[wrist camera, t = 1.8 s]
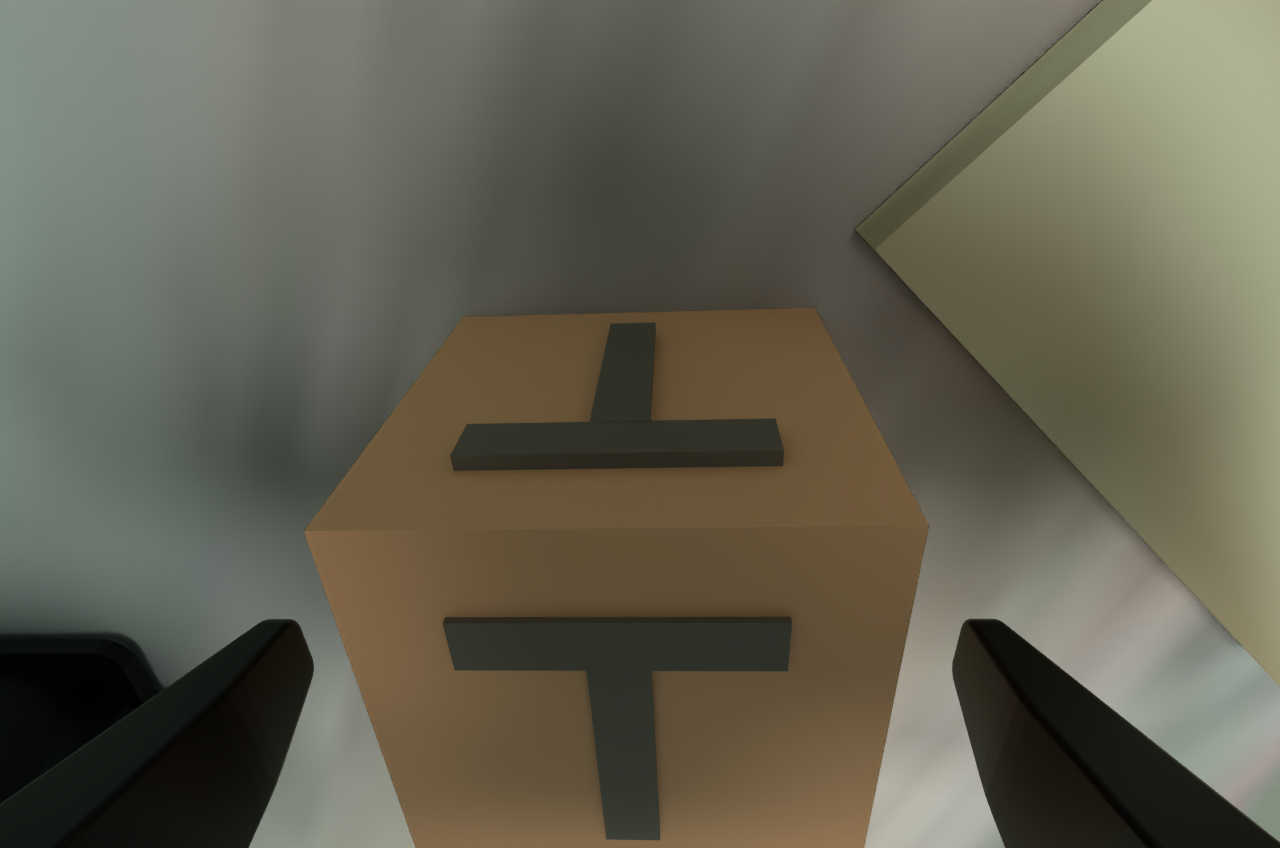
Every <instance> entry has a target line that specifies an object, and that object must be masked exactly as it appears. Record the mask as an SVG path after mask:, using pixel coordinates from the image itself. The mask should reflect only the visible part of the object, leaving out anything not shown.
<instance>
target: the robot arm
mask: <svg viewBox="0 0 1280 848" xmlns="http://www.w3.org/2000/svg"><path fill="white" fill-rule="evenodd" d="M313 672H314V664H313V659H312V656H311V653H310V651H309V648H308V645H307V643H306V640H305V638H304V635H303V633H302V630H301V627H300V625H299V624H298V623H297V622H296V621H295V620H292V619H268V620H264V621H262V622H260V623H259V624H257V625H256V626H254V627H253V628H251V629H250V630H248V631H247V632H246V633H244V634H243V635H241V636H240V637H238V638H237V639H236V640H234V641H233V642H231V643H230V644H228V645H227V646H226V647H224V648H223V649H221V650H220V651H218V652H217V653H216V654H214V655H213V656H211V657H210V658H208V659H207V660H206V661H204V662H203V663H201V664H200V665H198V666H197V667H196V668H194V669H193V670H191V671H190V672H188V673H187V674H186V675H184V676H183V677H181V678H180V679H178V680H177V681H176V682H174V683H173V684H171V685H170V686H168V687H167V688H166V689H164V690H163V691H161V692H160V693H158V694H156V692H155V691H154V689H153V687H152V685H151V684H150V682H149V680H148V678H147V676H146V675H145V673H144V671H143V669H142V668H141V666H140V664H139V662H138V661H137V659H136V657H135V655H134V654H133V653H132V652H131V651H130V649H128V648H127V647H125V646H124V645H122V644H120V643H117V642H114V641H108V640H0V848H249V846H250V843H251V841H252V839H253V837H254V834H255V832H256V830H257V828H258V826H259V823H260V821H261V819H262V817H263V814H264V812H265V810H266V808H267V805H268V803H269V801H270V798H271V796H272V794H273V791H274V789H275V787H276V784H277V781H278V778H279V776H280V773H281V770H282V768H283V765H284V762H285V759H286V756H287V753H288V750H289V747H290V744H291V741H292V738H293V735H294V732H295V729H296V726H297V723H298V720H299V717H300V714H301V711H302V708H303V705H304V702H305V699H306V696H307V693H308V690H309V687H310V684H311V681H312V677H313ZM952 674H953V680H954V684H955V688H956V691H957V695H958V699H959V702H960V706H961V710H962V713H963V717H964V721H965V724H966V728H967V732H968V735H969V739H970V743H971V746H972V750H973V754H974V757H975V761H976V765H977V768H978V772H979V776H980V779H981V782H982V786H983V789H984V792H985V796H986V799H987V801H988V804H989V807H990V810H991V812H992V815H993V818H994V820H995V823H996V825H997V828H998V831H999V833H1000V836H1001V838H1002V841H1003V843H1004V846H1005V848H1280V842H1279V841H1278V840H1276V839H1275V838H1274V837H1273V836H1271V835H1270V834H1269V833H1268V832H1266V831H1265V830H1264V829H1263V828H1261V827H1260V826H1259V825H1257V824H1256V823H1255V822H1254V821H1253V820H1251V819H1250V818H1249V817H1248V816H1246V815H1245V814H1244V813H1242V812H1241V811H1240V810H1239V809H1237V808H1236V807H1235V806H1234V805H1232V804H1231V803H1230V802H1229V801H1227V800H1226V799H1225V798H1224V797H1222V796H1221V795H1220V794H1219V793H1217V792H1216V791H1215V790H1214V789H1212V788H1211V787H1210V786H1208V785H1207V784H1206V783H1205V782H1203V781H1202V780H1201V779H1200V778H1198V777H1197V776H1196V775H1195V774H1193V773H1192V772H1191V771H1190V770H1188V769H1187V768H1186V767H1185V766H1183V765H1182V764H1181V763H1180V762H1178V761H1177V760H1176V759H1174V758H1173V757H1172V756H1171V755H1169V754H1168V753H1167V752H1166V751H1164V750H1163V749H1162V748H1161V747H1159V746H1158V745H1157V744H1156V743H1154V742H1153V741H1152V740H1151V739H1149V738H1148V737H1147V736H1146V735H1144V734H1143V733H1142V732H1140V731H1139V730H1138V729H1137V728H1135V727H1134V726H1133V725H1132V724H1130V723H1129V722H1128V721H1127V720H1125V719H1124V718H1123V717H1122V716H1120V715H1119V714H1118V713H1117V712H1115V711H1114V710H1113V709H1112V708H1110V707H1109V706H1108V705H1106V704H1105V703H1104V702H1103V701H1101V700H1100V699H1099V698H1098V697H1096V696H1095V695H1094V694H1093V693H1091V692H1090V691H1089V690H1088V689H1086V688H1085V687H1084V686H1083V685H1081V684H1080V683H1079V682H1078V681H1076V680H1075V679H1074V678H1072V677H1071V676H1070V675H1069V674H1067V673H1066V672H1065V671H1064V670H1062V669H1061V668H1060V667H1059V666H1057V665H1056V664H1055V663H1054V662H1052V661H1051V660H1050V659H1049V658H1047V657H1046V656H1045V655H1044V654H1042V653H1041V652H1040V651H1038V650H1037V649H1036V648H1035V647H1033V646H1032V645H1031V644H1030V643H1028V642H1027V641H1026V640H1025V639H1023V638H1022V637H1021V636H1020V635H1018V634H1017V633H1016V632H1015V631H1013V630H1012V629H1011V628H1010V627H1008V626H1007V625H1006V624H1004V623H1003V622H1001V621H999V620H997V619H968V620H966V621H965V622H964V623H963V625H962V627H961V631H960V635H959V639H958V643H957V647H956V651H955V655H954V659H953V664H952Z"/></svg>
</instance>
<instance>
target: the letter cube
mask: <svg viewBox="0 0 1280 848" xmlns="http://www.w3.org/2000/svg"><path fill="white" fill-rule="evenodd" d="M928 528H929V525H928V523H927V521H926V519H925V517H924V515H923V513H922V511H921V509H920V508H919V506H918V504H917V502H916V500H915V498H914V496H913V494H912V492H911V490H910V488H909V486H908V485H907V483H906V481H905V479H904V477H903V475H902V473H901V471H900V469H899V467H898V465H897V463H896V462H895V460H894V458H893V456H892V454H891V452H890V450H889V448H888V446H887V444H886V442H885V441H884V439H883V437H882V435H881V433H880V431H879V429H878V427H877V425H876V423H875V421H874V419H873V418H872V416H871V414H870V412H869V410H868V408H867V406H866V404H865V402H864V400H863V398H862V396H861V395H860V393H859V391H858V389H857V387H856V385H855V383H854V381H853V379H852V377H851V375H850V374H849V372H848V370H847V368H846V366H845V364H844V362H843V360H842V358H841V356H840V354H839V352H838V351H837V349H836V347H835V345H834V343H833V341H832V339H831V337H830V335H829V333H828V331H827V329H826V328H825V326H824V324H823V322H822V320H821V318H820V316H819V314H818V312H817V310H816V308H779V309H742V310H704V311H666V312H628V313H590V314H553V315H515V316H477V317H463V318H462V319H461V321H460V322H459V323H458V325H457V326H456V327H455V329H454V330H453V331H452V333H451V334H450V335H449V337H448V338H447V339H446V341H445V342H444V344H443V345H442V346H441V348H440V349H439V350H438V352H437V353H436V354H435V356H434V357H433V358H432V360H431V361H430V362H429V364H428V365H427V366H426V368H425V369H424V370H423V372H422V373H421V374H420V376H419V377H418V378H417V380H416V381H415V382H414V384H413V385H412V386H411V388H410V389H409V391H408V392H407V393H406V395H405V396H404V397H403V399H402V400H401V401H400V403H399V404H398V405H397V407H396V408H395V409H394V411H393V412H392V413H391V415H390V416H389V417H388V419H387V420H386V421H385V423H384V424H383V425H382V427H381V428H380V429H379V431H378V432H377V433H376V435H375V436H374V437H373V439H372V440H371V442H370V443H369V444H368V446H367V447H366V448H365V450H364V451H363V452H362V454H361V455H360V456H359V458H358V459H357V460H356V462H355V463H354V464H353V466H352V467H351V468H350V470H349V471H348V472H347V474H346V475H345V476H344V478H343V479H342V480H341V482H340V483H339V484H338V486H337V487H336V488H335V490H334V491H333V493H332V494H331V495H330V497H329V498H328V499H327V501H326V502H325V503H324V505H323V506H322V507H321V509H320V510H319V511H318V513H317V514H316V515H315V517H314V518H313V519H312V521H311V522H310V523H309V525H308V526H307V527H306V529H305V530H304V534H305V536H306V539H307V542H308V545H309V548H310V551H311V553H312V556H313V559H314V562H315V565H316V568H317V570H318V573H319V576H320V579H321V582H322V585H323V587H324V590H325V593H326V596H327V599H328V601H329V604H330V607H331V610H332V613H333V616H334V618H335V621H336V624H337V627H338V630H339V633H340V635H341V638H342V641H343V644H344V647H345V650H346V652H347V655H348V658H349V661H350V664H351V666H352V669H353V672H354V675H355V678H356V681H357V683H358V686H359V689H360V692H361V695H362V698H363V700H364V703H365V706H366V709H367V712H368V715H369V717H370V720H371V723H372V726H373V729H374V731H375V734H376V737H377V740H378V743H379V746H380V748H381V751H382V754H383V757H384V760H385V763H386V765H387V768H388V771H389V774H390V777H391V780H392V782H393V785H394V788H395V791H396V794H397V796H398V799H399V802H400V805H401V808H402V811H403V813H404V816H405V819H406V822H407V825H408V828H409V830H410V833H411V836H412V839H413V842H414V845H415V847H416V848H864V846H865V841H866V836H867V831H868V826H869V821H870V816H871V811H872V806H873V801H874V796H875V791H876V786H877V781H878V776H879V772H880V767H881V762H882V757H883V752H884V747H885V742H886V737H887V732H888V727H889V722H890V717H891V712H892V707H893V702H894V697H895V692H896V687H897V682H898V677H899V672H900V667H901V662H902V657H903V652H904V647H905V642H906V637H907V632H908V627H909V622H910V617H911V612H912V607H913V603H914V598H915V593H916V588H917V583H918V578H919V573H920V568H921V563H922V558H923V553H924V548H925V543H926V538H927V533H928Z"/></svg>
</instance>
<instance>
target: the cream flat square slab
mask: <svg viewBox="0 0 1280 848" xmlns="http://www.w3.org/2000/svg"><path fill="white" fill-rule="evenodd" d="M855 230H856V231H857V232H858V233H859V234H860V235H861V236H862V237H863V238H864V239H865V240H866V241H867V243H868V244H869V245H870V246H871V247H872V248H873V249H874V250H875V251H876V252H877V253H878V254H879V255H880V257H881V258H882V259H883V260H884V261H885V262H886V263H887V264H888V265H889V266H890V267H891V268H892V269H893V271H894V272H895V273H896V274H897V275H898V276H899V277H900V278H901V279H902V280H903V281H904V282H905V283H906V285H907V286H908V287H909V288H910V289H911V290H912V291H913V292H914V293H915V294H916V295H917V296H918V297H919V299H920V300H921V301H922V302H923V303H924V304H925V305H926V306H927V307H928V308H929V309H930V310H931V311H932V313H933V314H934V315H935V316H936V317H937V318H938V319H939V320H940V321H941V322H942V323H943V324H944V325H945V327H946V328H947V329H948V330H949V331H950V332H951V333H952V334H953V335H954V336H955V337H956V338H957V339H958V341H959V342H960V343H961V344H962V345H963V346H964V347H965V348H966V349H967V350H968V351H969V352H970V353H971V355H972V356H973V357H974V358H975V359H976V360H977V361H978V362H979V363H980V364H981V365H982V366H983V367H984V369H985V370H986V371H987V372H988V373H989V374H990V375H991V376H992V377H993V378H994V379H995V380H996V381H997V383H998V384H999V385H1000V386H1001V387H1002V388H1003V389H1004V390H1005V391H1006V392H1007V393H1008V394H1009V395H1010V397H1011V398H1012V399H1013V400H1014V401H1015V402H1016V403H1017V404H1018V405H1019V406H1020V407H1021V408H1022V410H1023V411H1024V412H1025V413H1026V414H1027V415H1028V416H1029V417H1030V418H1031V419H1032V420H1033V421H1034V422H1035V424H1036V425H1037V426H1038V427H1039V428H1040V429H1041V430H1042V431H1043V432H1044V433H1045V434H1046V435H1047V436H1048V438H1049V439H1050V440H1051V441H1052V442H1053V443H1054V444H1055V445H1056V446H1057V447H1058V448H1059V449H1060V450H1061V452H1062V453H1063V454H1064V455H1065V456H1066V457H1067V458H1068V459H1069V460H1070V461H1071V462H1072V463H1073V464H1074V466H1075V467H1076V468H1077V469H1078V470H1079V471H1080V472H1081V473H1082V474H1083V475H1084V476H1085V477H1086V478H1087V480H1088V481H1089V482H1090V483H1091V484H1092V485H1093V486H1094V487H1095V488H1096V489H1097V490H1098V491H1099V492H1100V494H1101V495H1102V496H1103V497H1104V498H1105V499H1106V500H1107V501H1108V502H1109V503H1110V504H1111V505H1112V506H1113V508H1114V509H1115V510H1116V511H1117V512H1118V513H1119V514H1120V515H1121V516H1122V517H1123V518H1124V519H1125V520H1126V522H1127V523H1128V524H1129V525H1130V526H1131V527H1132V528H1133V529H1134V530H1135V531H1136V532H1137V533H1138V534H1139V536H1140V537H1141V538H1142V539H1143V540H1144V541H1145V542H1146V543H1147V544H1148V545H1149V546H1150V547H1151V548H1152V550H1153V551H1154V552H1155V553H1156V554H1157V555H1158V556H1159V557H1160V558H1161V559H1162V560H1163V561H1164V562H1165V564H1166V565H1167V566H1168V567H1169V568H1170V569H1171V570H1172V571H1173V572H1174V573H1175V574H1176V575H1177V577H1178V578H1179V579H1180V580H1181V581H1182V582H1183V583H1184V584H1185V585H1186V586H1187V587H1188V588H1189V589H1190V591H1191V592H1192V593H1193V594H1194V595H1195V596H1196V597H1197V598H1198V599H1199V600H1200V601H1201V602H1202V603H1203V605H1204V606H1205V607H1206V608H1207V609H1208V610H1209V611H1210V612H1211V613H1212V614H1213V615H1214V616H1215V617H1216V619H1217V620H1218V621H1219V622H1220V623H1221V624H1222V625H1223V626H1224V627H1225V628H1226V629H1227V630H1228V631H1229V633H1230V634H1231V635H1232V636H1233V637H1234V638H1235V639H1236V640H1237V641H1238V642H1239V643H1240V644H1241V645H1242V647H1243V648H1244V649H1245V650H1246V651H1247V652H1248V653H1249V654H1250V655H1251V656H1252V657H1253V658H1254V659H1255V661H1256V662H1257V663H1258V664H1259V665H1260V666H1261V667H1262V668H1263V669H1264V670H1265V671H1266V672H1267V673H1268V675H1269V676H1270V677H1271V678H1272V679H1273V680H1274V681H1275V682H1276V683H1277V684H1278V685H1279V686H1280V0H1102V1H1101V2H1100V3H1099V4H1098V5H1097V6H1096V7H1095V8H1094V9H1093V10H1092V11H1091V12H1090V13H1088V14H1087V15H1086V16H1085V17H1084V18H1083V19H1082V20H1081V21H1080V22H1079V23H1078V24H1077V25H1075V26H1074V27H1073V28H1072V29H1071V30H1070V31H1069V32H1068V33H1067V34H1066V35H1065V36H1064V37H1062V38H1061V39H1060V40H1059V41H1058V42H1057V43H1056V44H1055V45H1054V46H1053V47H1052V48H1051V49H1050V50H1048V51H1047V52H1046V53H1045V54H1044V55H1043V56H1042V57H1041V58H1040V59H1039V60H1038V61H1037V62H1035V63H1034V64H1033V65H1032V66H1031V67H1030V68H1029V69H1028V70H1027V71H1026V72H1025V73H1024V74H1022V75H1021V76H1020V77H1019V78H1018V79H1017V80H1016V81H1015V82H1014V83H1013V84H1012V85H1011V86H1010V87H1008V88H1007V89H1006V90H1005V91H1004V92H1003V93H1002V94H1001V95H1000V96H999V97H998V98H997V99H995V100H994V101H993V102H992V103H991V104H990V105H989V106H988V107H987V108H986V109H985V110H984V111H982V112H981V113H980V114H979V115H978V116H977V117H976V118H975V119H974V120H973V121H972V122H971V123H969V124H968V125H967V126H966V127H965V128H964V129H963V130H962V131H961V132H960V133H959V134H958V135H957V136H955V137H954V138H953V139H952V140H951V141H950V142H949V143H948V144H947V145H946V146H945V147H944V148H942V149H941V150H940V151H939V152H938V153H937V154H936V155H935V156H934V157H933V158H932V159H931V160H929V161H928V162H927V163H926V164H925V165H924V166H923V167H922V168H921V169H920V170H919V171H918V172H917V173H915V174H914V175H913V176H912V177H911V178H910V179H909V180H908V181H907V182H906V183H905V184H904V185H902V186H901V187H900V188H899V189H898V190H897V191H896V192H895V193H894V194H893V195H892V196H891V197H889V198H888V199H887V200H886V201H885V202H884V203H883V204H882V205H881V206H880V207H879V208H878V209H877V210H875V211H874V212H873V213H872V214H871V215H870V216H869V217H868V218H867V219H866V220H865V221H864V222H862V223H861V224H860V225H859V226H858V227H857V228H856V229H855Z"/></svg>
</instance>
